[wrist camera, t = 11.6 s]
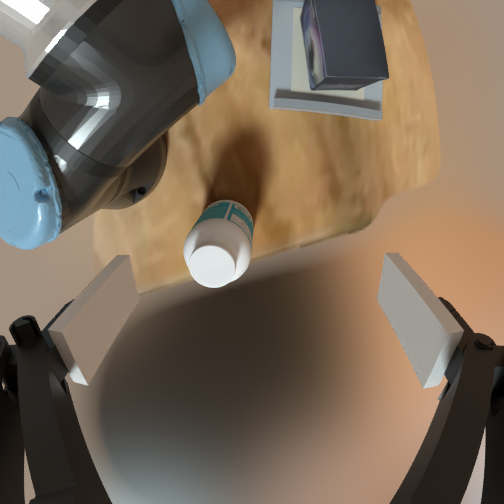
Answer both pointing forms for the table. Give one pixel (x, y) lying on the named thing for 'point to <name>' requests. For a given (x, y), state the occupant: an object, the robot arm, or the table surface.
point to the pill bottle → (220, 244)
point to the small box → (343, 44)
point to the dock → (296, 73)
